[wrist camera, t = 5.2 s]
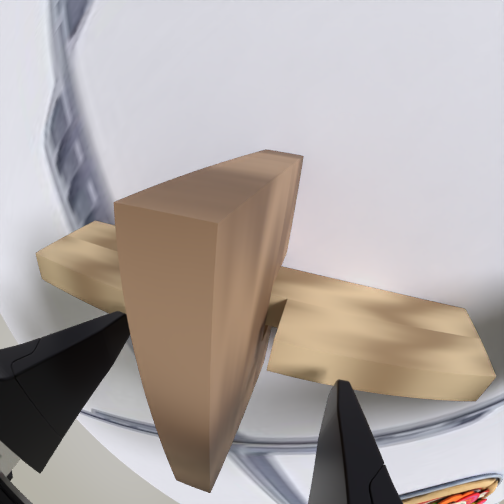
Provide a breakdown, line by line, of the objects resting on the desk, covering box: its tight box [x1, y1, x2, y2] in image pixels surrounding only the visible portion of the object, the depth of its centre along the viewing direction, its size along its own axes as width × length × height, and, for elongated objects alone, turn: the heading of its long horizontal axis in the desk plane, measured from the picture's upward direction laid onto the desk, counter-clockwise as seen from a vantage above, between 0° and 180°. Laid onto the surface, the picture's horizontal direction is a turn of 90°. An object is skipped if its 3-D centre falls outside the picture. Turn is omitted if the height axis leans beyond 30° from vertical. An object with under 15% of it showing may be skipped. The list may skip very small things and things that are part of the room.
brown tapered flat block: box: [114, 150, 303, 493], centre depth 10 cm, size 12×2×9 cm, turn 173°
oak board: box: [36, 221, 496, 401], centre depth 12 cm, size 22×2×5 cm, turn 83°
